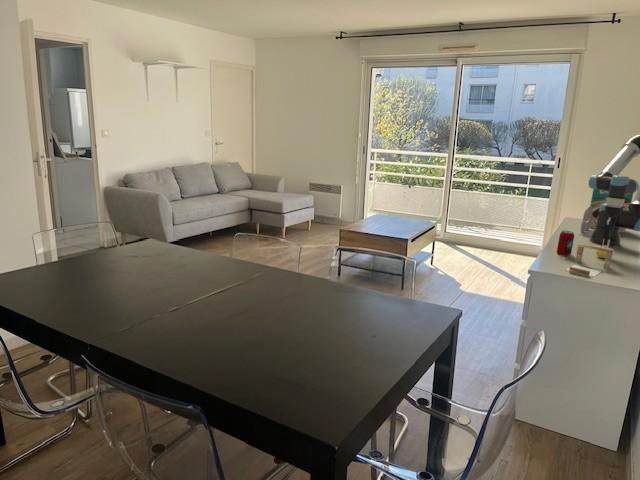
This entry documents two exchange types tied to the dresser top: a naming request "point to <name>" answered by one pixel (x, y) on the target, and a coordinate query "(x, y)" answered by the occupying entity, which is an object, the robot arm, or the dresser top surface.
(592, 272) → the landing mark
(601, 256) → the ball
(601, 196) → the cake mix box
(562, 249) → the beverage can
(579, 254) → the bridge
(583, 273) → the wall
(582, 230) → the ornament
